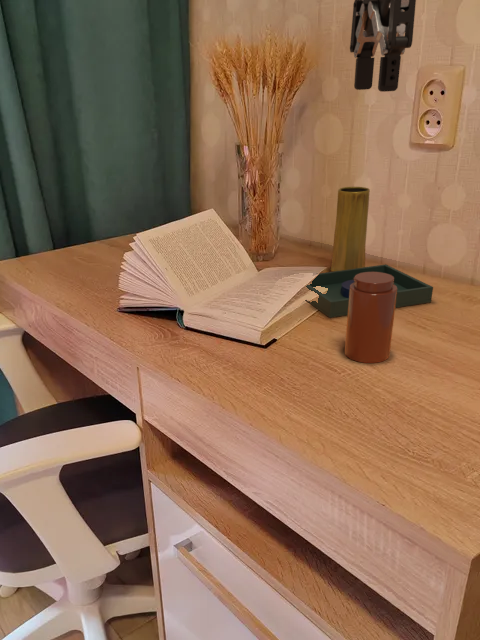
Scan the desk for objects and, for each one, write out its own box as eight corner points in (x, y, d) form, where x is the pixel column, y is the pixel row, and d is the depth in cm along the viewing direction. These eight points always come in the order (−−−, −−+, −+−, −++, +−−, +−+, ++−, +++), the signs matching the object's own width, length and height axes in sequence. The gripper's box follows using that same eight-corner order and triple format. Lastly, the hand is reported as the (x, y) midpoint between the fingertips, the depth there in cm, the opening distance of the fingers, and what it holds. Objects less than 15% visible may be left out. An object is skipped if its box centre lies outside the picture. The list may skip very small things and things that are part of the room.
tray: (384, 278, 103) (386, 264, 102) (431, 302, 92) (433, 286, 91) (292, 291, 100) (293, 276, 99) (329, 318, 88) (330, 302, 87)
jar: (373, 342, 80) (380, 268, 75) (398, 358, 75) (408, 280, 71) (336, 349, 79) (341, 274, 74) (360, 366, 74) (367, 287, 69)
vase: (343, 263, 112) (349, 184, 105) (371, 269, 108) (379, 188, 101) (323, 271, 108) (328, 190, 102) (352, 278, 104) (359, 193, 98)
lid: (337, 298, 94) (338, 289, 94) (345, 286, 99) (345, 278, 98) (375, 301, 92) (376, 292, 91) (381, 290, 97) (382, 281, 96)
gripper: (336, -54, 75) (329, 90, 82) (379, -80, 62) (365, 93, 69) (395, -56, 75) (382, 87, 83) (449, -83, 62) (428, 90, 70)
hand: (374, 90), depth 76 cm, fingers open, 8 cm apart
